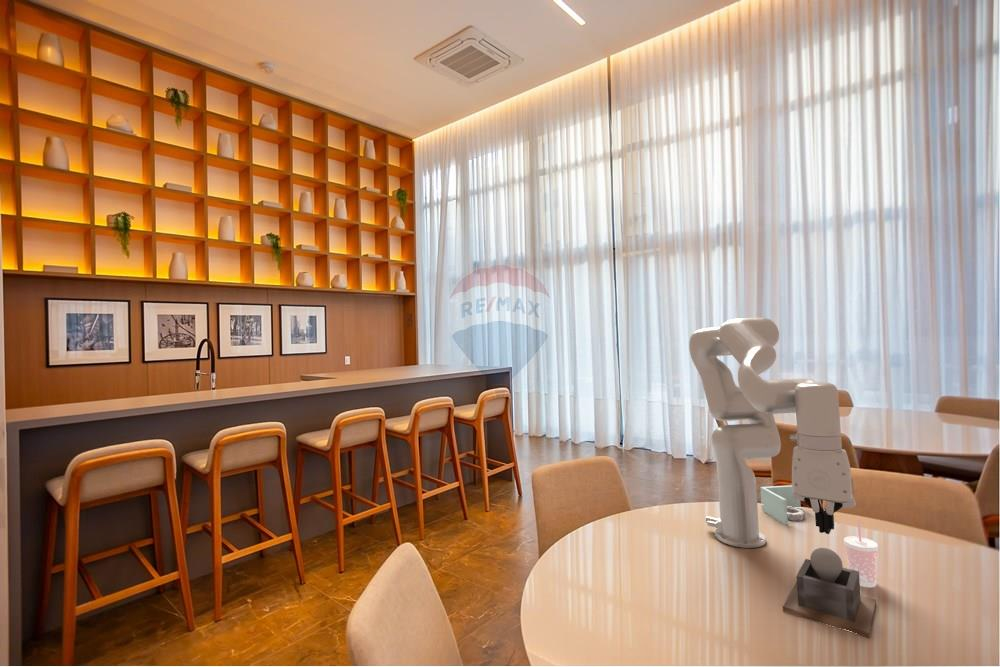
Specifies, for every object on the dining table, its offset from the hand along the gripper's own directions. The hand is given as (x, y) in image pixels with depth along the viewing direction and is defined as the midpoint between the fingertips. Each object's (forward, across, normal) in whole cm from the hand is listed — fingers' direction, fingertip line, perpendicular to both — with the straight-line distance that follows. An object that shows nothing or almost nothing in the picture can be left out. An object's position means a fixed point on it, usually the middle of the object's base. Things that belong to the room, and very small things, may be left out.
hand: (825, 531), depth 97 cm
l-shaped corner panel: (+16, -17, +50) cm, 55 cm away
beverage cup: (+16, +4, +16) cm, 23 cm away
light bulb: (+14, 0, 0) cm, 14 cm away
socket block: (+16, 0, 0) cm, 16 cm away
